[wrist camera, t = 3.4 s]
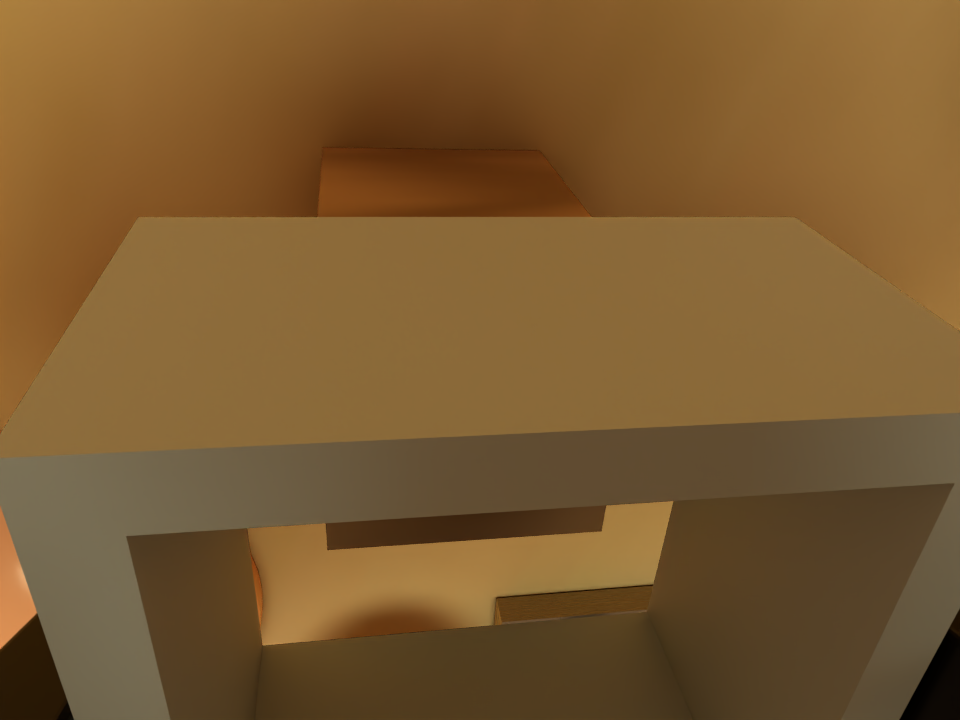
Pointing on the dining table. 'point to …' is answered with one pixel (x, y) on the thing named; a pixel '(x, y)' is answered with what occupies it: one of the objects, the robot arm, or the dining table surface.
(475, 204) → the block
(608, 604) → the balance
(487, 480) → the collar
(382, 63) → the dining table surface
